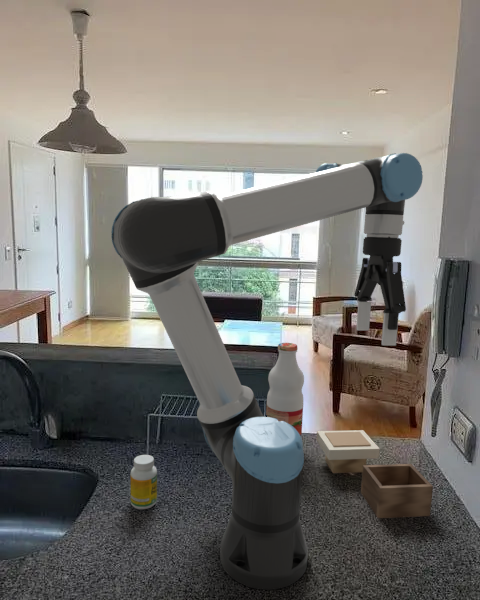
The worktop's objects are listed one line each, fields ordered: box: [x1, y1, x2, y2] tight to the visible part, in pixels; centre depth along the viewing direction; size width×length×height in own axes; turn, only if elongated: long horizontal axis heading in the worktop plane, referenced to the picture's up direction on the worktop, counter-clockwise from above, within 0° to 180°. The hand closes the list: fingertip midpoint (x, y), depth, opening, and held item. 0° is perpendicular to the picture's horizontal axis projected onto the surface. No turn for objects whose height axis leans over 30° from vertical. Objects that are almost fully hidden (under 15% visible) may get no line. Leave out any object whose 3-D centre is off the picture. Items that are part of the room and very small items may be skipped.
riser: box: [324, 455, 368, 474], centre depth 112 cm, size 8×6×5 cm
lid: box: [315, 429, 381, 460], centre depth 111 cm, size 12×10×3 cm
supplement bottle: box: [129, 454, 158, 510], centre depth 95 cm, size 5×5×10 cm
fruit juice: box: [265, 342, 305, 437], centre depth 119 cm, size 9×9×28 cm
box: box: [360, 463, 434, 519], centre depth 97 cm, size 11×9×7 cm
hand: (374, 337), depth 98 cm, fingers open, 13 cm apart
